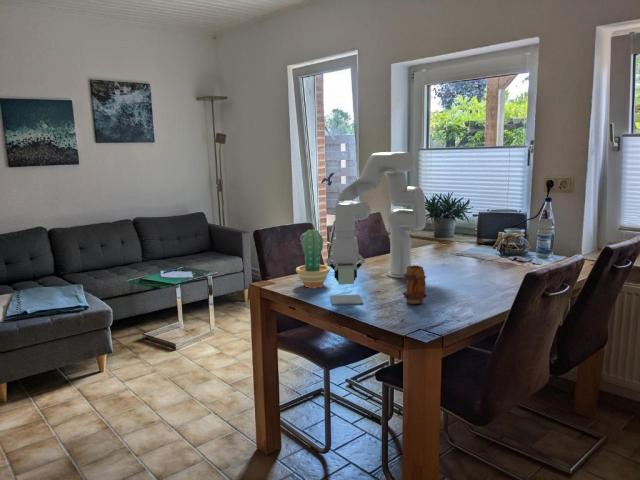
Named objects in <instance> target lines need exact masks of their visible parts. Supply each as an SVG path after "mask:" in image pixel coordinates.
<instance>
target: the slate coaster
mask: <svg viewBox="0 0 640 480" xmlns="http://www.w3.org/2000/svg"><path fill="white" fill-rule="evenodd" d="M330 298H331V299H330ZM329 299H330V303H331V302H332V303H331V306H332V305H336V306H354V305H355V306H357V305H358V306H359V305H360V306H361V305H364V301H363V300H362V298H361V295H360V294H342V295H340V294H337V295H336V294H335V295H334V294H333V295H329Z"/></svg>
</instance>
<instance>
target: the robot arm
mask: <svg viewBox="0 0 640 480" xmlns="http://www.w3.org/2000/svg"><path fill="white" fill-rule="evenodd" d="M414 163H415V161H414V156H413V154H412V153H411V152H409V151H396V152H395V151H390V152H389V151H386V152H385V151H384V152H374V153H372V154H370V156H369V157H368V158H367V161H366V163H365V165H364V167H363V168H362V170H361V173H360V174H359V177H358V178H357V179H355V180H353V182H352V183H350V184H349V185H347V186H346V187H345V188H344V189H343V190H342V191H341V193H340V194H339V196H338V198H337V200H336V203H335V206H334V214H335V215H334V219H335V220H334V221H335V222H334V224H335V227H334V229H335V230H334V231H335V232H334V233H335V237H333V240H332V248H331V249H332V251H331V252H332V254H331V255H330V256H329V257H328V258H327V259H326V260H325V263H326V264H327V266H328V267H330V269H332V270H333V271H334V272H333V273H334V275H333V276H334V279H335V280H336V282H338V266H339V264H353V265H354V281H356V279H357V278H358V270H359V269H360V267H361V266H362V265H363V264H364V263H366V259H365V258H364V257H363V256H362V255H361V254H360V253H359V246H358V245H359V244H358V238H357V237H356V236H358V235H359V233H360V232H359V231H357V230H355V229H356V223H355V222H356V221H359V220H360V221H363V220H366V219H367V218H368V217H369V215H370V213H371V206H370V204H368V202H366V201H364V200H363V201H362V200H355V199H357V198H358V197H361V196H363V195H367V194H369V193H372V192H374V191H375V190H377V189H378V187H379V184H380V182H381V180H382V178H383V176H384V175H385V178H386V180H387V187H388V196H389V198H388V199H389V203H390V205H392V207H397V208H395V209H392V210H391V211H389V213H388V216H387V217H388V219H387V220H388V221H387V222H388V227H389V234H390V240H389V241H390V243H389V244H390V245H389V246H390V250H389V251H390V252H389V253H390V262H389V263H390V265H389V266H390V269H389V271H387V272H386V275H387V277H391V278H395V279H396V278H397V279H398V278H400V279H405V277H404V274H406V273H407V266H412V265H411V264H412V261H411V260H412V259H411V258H412V256H411V255H412V239H411V238H412V237H411V235H410V232H408V231H422V230H424V229H425V227H426V224H427V213H426V212H427V211H426V200H425V193H424V191H423V189H422V188H420V186H409V185H408V183H407V175H406V173H408V172H410V171H411V170H412V169H413V167H414ZM359 260H360V261H359ZM331 261H332V262H333V263H332V262H331Z"/></svg>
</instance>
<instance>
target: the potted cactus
mask: <svg viewBox="0 0 640 480" xmlns="http://www.w3.org/2000/svg"><path fill="white" fill-rule="evenodd" d="M299 241H300V245H302V250H303V253H304V265H300V266H297V267H295V268H296V269H295V271H296V273H297V275H298V277H299V280H300V281H301V282H302V284H303V287H304V286H305V287H309V288H308V289H318V288H317V287H320V288H323V287H324V282H325V281H326V280H327V276H328V274H329V273H330V269H331V267H330V266H329V265H325V264H321V254H322V251H323V247H324V239H323V236H322V234H320V232H319V231H318V230H317V229H314V228H313V229H307V231H305V232H304V233H302V234H301V235H300V237H299ZM322 286H323V287H322ZM305 287H304V288H305Z"/></svg>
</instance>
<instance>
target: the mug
mask: <svg viewBox="0 0 640 480" xmlns="http://www.w3.org/2000/svg"><path fill="white" fill-rule="evenodd" d="M404 277H405V278H404V279H405V281H406V285H405V286H406V287H405V288H406V291H404V292H403V294H402V295H403V296H404V298H405V300H406V303H408V304H410V305H420V304H424V299H425V298H426V297H427V296H428V295H427V294H426V278H427V276H426V274H425V270H424V267H423V266H420V265H411V266H407V273H406V274H404Z"/></svg>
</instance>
